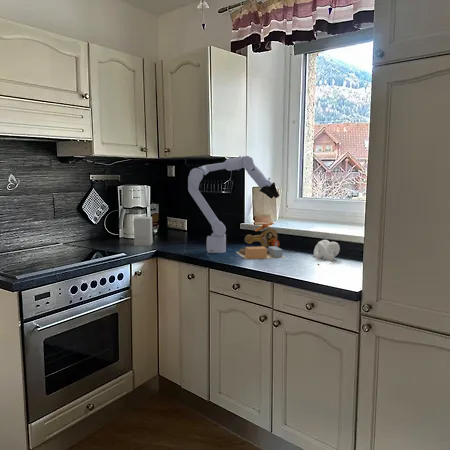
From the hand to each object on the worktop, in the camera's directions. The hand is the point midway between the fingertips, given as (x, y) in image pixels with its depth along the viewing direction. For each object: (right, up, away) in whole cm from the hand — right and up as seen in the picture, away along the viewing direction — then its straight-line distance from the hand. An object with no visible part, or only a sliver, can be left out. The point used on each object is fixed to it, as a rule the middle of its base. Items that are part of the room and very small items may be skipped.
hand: (275, 197), depth 210 cm
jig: (-8, -29, -6) cm, 31 cm away
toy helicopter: (-5, -27, +15) cm, 31 cm away
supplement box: (-70, -25, +22) cm, 77 cm away
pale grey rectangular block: (-1, -28, -7) cm, 29 cm away
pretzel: (+22, -30, -10) cm, 39 cm away
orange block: (-11, -29, -12) cm, 33 cm away
